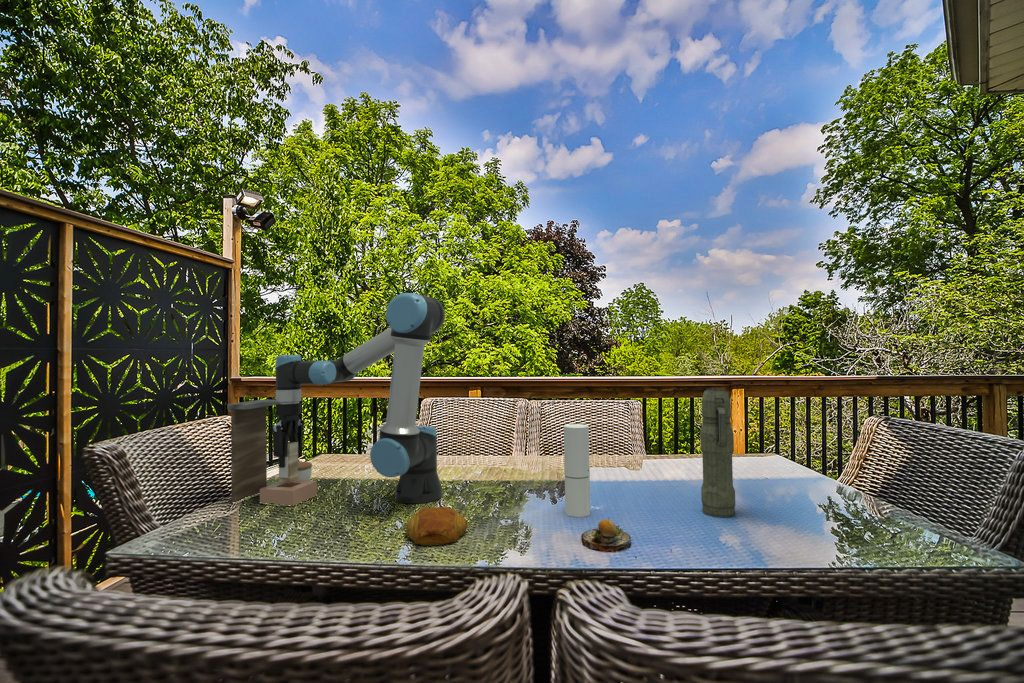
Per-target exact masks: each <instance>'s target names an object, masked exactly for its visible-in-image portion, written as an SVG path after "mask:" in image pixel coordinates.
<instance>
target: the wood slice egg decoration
mask: <svg viewBox="0 0 1024 683" xmlns="http://www.w3.org/2000/svg"><path fill="white" fill-rule="evenodd" d="M623 530H624V528H620V525H616V523H615V522H614V521H612V520H610V519H602V520H600V521H598V524H597V528H593V529H589V530H586V531H584V532H583V533H581V538H580V540H581V544H582V545H583V544H584V545H585V547H586V549H590V550H592V549H594V550H596V549H597V550H599V551H600V552H604V553H607V552H609V551H610V552H611V553H613V552H624V551H626V550H628V549H629V548H630V547H632V546H631V543H630V542H631V540H632V538H631V535H629V534H628V532H625V531H623Z"/></svg>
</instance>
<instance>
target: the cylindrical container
mask: <svg viewBox="0 0 1024 683" xmlns="http://www.w3.org/2000/svg"><path fill="white" fill-rule="evenodd" d="M589 429H590V428H589V425H588V424H581V423H576V424H575V423H573V424H572V423H571V424H565V425H563V453H564V454H563V456H564V462H563V463H564V504H565V505H564V507H565V508H564V510H565V511H564V512H565V513H564V514H565V515H567V516H569V517H573V518H584V517H588V516H590V515H591V485H590V484H591V481H590V480H591V478H590V476H591V475H590V471H591V470H590V433H589V432H590V430H589Z"/></svg>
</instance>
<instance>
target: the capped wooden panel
mask: <svg viewBox="0 0 1024 683" xmlns="http://www.w3.org/2000/svg"><path fill="white" fill-rule="evenodd" d="M276 404H278V402H276V399H257V400H250V401H242V402H237V403H236V402H235V403H227V406H226V407H227V408H226V409H227V410H230V420H231V421H230V437H231V438H230V441H231V444H230V449H231V450H230V452H231V454H230V456H231V459H230V460H231V462H230V464H231V471H230V472H231V475H230V476H231V482H230V483H231V486H230V487H231V488H230V489H231V491H230V492H231V503H232V502H236V501H239V500H241V499H243V498H245V497H248V496H251V495H254V494H257V493H260V489H261V488H264V487H266V486H268V485H267V484H268V480H267V479H268V478H267V476H268V475H267V474H268V473H267V472H268V471H267V469H268V468H267V466H268V465H267V407H271V406H276Z"/></svg>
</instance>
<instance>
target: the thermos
mask: <svg viewBox="0 0 1024 683" xmlns="http://www.w3.org/2000/svg"><path fill="white" fill-rule="evenodd" d="M731 411H732V410H731V398H730V395H729V392H728V391H727V390H725V389H724V388H723V389H722V388H707V389H706V390H704V392H703V394H702V398H701V416H702V422H701V424H702V425H701V428H700V432H699V437H700V438H699V439H700V450H701V453H702V485H701V487H700V492H701V493H700V495H701V496H700V497H701V503H702V510H701V511H702V513H703V514H704V515H706V516H710V517H715V518H732V517H734V516H735V515H736V511H735V510H736V508H735V507H736V489H735V487H734V484H733V483H734V482H733V481H734V480H733V475H734V472H733V453H734V451H735V446H734V445H735V444H734V443H735V441H734V431H733V428H732V422H731V418H732V417H731V414H732V412H731Z"/></svg>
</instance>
